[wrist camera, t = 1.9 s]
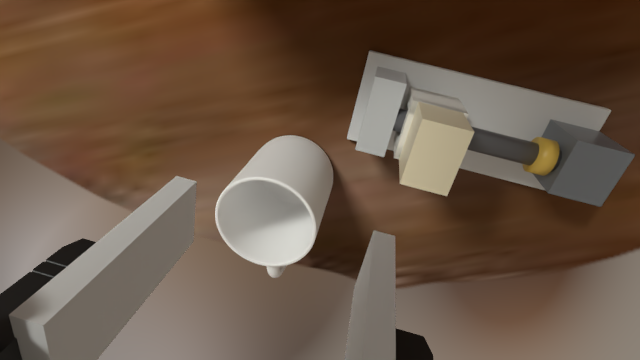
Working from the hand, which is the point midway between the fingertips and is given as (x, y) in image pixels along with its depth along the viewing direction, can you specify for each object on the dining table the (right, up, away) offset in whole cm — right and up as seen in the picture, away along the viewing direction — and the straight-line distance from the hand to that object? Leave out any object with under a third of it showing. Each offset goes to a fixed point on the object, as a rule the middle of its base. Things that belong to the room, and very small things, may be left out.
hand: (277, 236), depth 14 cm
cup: (-1, +1, +26) cm, 26 cm away
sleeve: (+10, +7, +18) cm, 22 cm away
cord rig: (+15, +7, +20) cm, 25 cm away
